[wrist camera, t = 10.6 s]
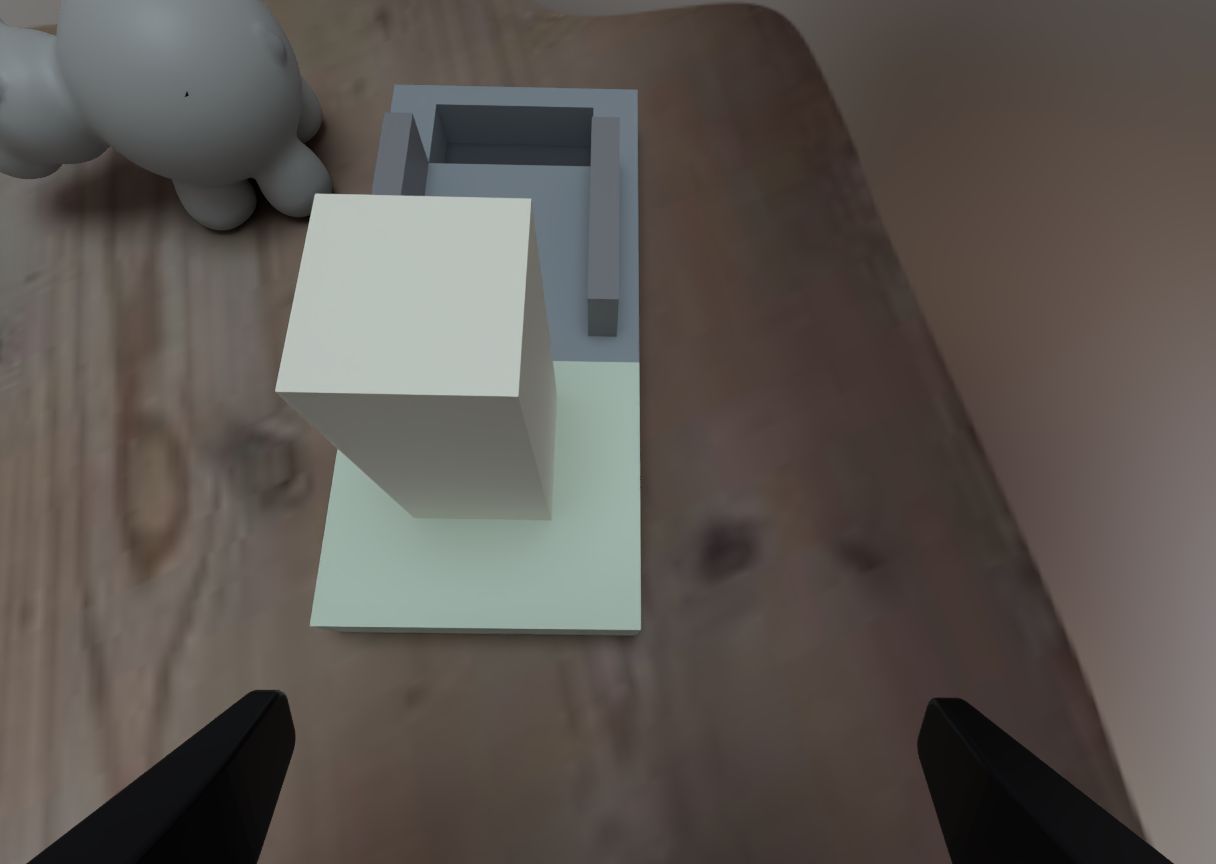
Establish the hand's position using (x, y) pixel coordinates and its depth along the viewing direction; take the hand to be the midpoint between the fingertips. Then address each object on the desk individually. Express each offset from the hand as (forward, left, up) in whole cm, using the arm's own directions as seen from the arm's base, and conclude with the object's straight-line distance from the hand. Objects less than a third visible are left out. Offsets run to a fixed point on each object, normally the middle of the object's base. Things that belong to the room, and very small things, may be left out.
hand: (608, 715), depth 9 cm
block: (+6, +6, -11) cm, 14 cm away
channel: (+11, +8, -14) cm, 19 cm away
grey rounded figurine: (+14, +23, -14) cm, 30 cm away
